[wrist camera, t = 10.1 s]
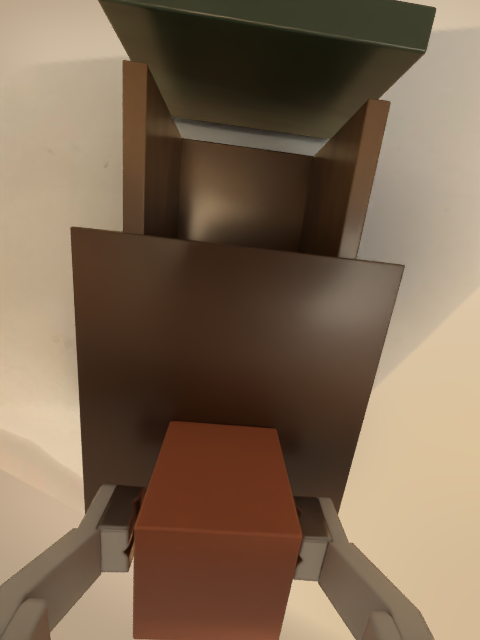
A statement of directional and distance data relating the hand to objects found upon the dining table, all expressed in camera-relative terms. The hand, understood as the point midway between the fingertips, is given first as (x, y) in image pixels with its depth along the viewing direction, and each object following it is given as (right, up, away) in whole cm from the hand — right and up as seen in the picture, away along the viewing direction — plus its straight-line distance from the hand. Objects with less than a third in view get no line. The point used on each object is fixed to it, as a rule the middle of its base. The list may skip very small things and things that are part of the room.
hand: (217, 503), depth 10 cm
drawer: (+1, +15, +6) cm, 17 cm away
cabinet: (0, +5, +10) cm, 12 cm away
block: (0, 0, +2) cm, 2 cm away
